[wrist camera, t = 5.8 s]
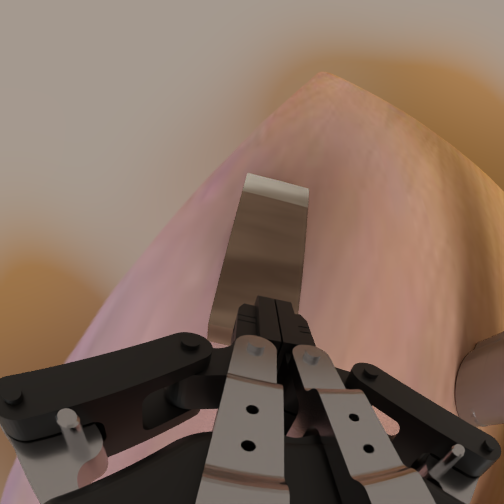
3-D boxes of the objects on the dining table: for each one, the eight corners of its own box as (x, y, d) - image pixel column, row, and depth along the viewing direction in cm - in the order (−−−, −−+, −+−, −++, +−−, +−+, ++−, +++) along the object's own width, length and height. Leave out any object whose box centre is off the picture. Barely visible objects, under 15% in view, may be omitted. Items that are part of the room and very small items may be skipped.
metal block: (294, 341, 15) (309, 188, 21) (208, 323, 15) (247, 172, 21) (274, 354, 20) (291, 224, 26) (207, 340, 19) (239, 211, 25)
